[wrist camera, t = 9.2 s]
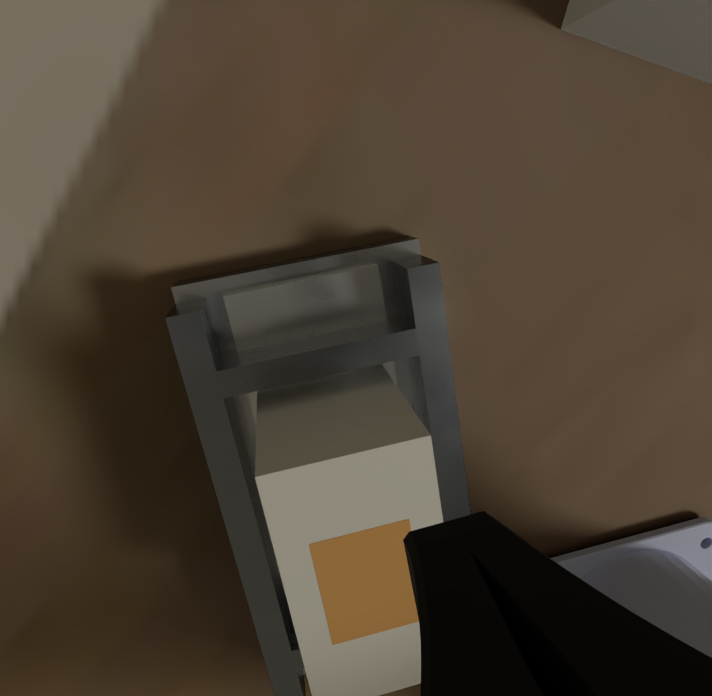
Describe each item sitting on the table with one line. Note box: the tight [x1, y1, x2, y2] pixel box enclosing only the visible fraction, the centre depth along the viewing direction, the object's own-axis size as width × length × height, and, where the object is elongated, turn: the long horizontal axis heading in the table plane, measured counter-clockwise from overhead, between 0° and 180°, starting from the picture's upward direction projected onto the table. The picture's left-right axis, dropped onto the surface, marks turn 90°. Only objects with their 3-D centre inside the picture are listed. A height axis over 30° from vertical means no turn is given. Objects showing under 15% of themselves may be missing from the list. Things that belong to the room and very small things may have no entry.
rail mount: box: [165, 237, 471, 696], centre depth 18 cm, size 15×7×3 cm, turn 10°
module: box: [255, 367, 443, 696], centre depth 15 cm, size 7×4×5 cm, turn 10°
